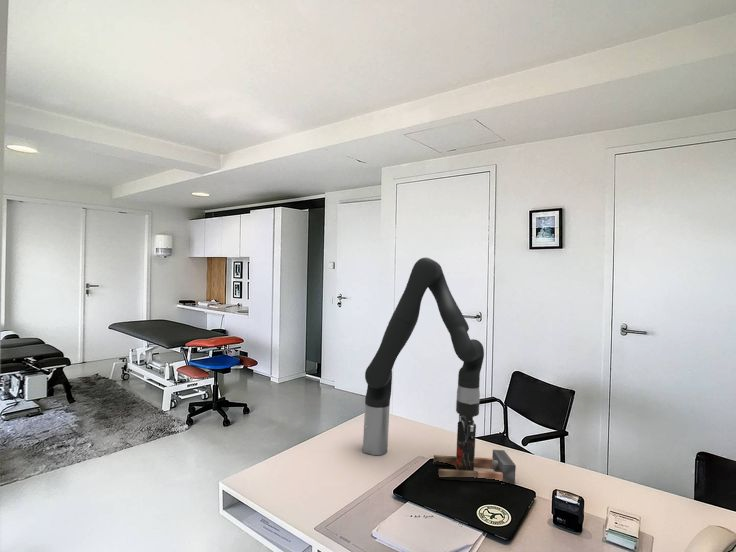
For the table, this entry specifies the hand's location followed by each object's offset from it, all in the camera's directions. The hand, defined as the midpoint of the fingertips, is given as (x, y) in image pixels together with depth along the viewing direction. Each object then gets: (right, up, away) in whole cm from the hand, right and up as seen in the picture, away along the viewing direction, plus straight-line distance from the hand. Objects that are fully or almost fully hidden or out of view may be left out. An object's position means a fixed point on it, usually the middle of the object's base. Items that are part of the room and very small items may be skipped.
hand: (465, 448), depth 133 cm
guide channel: (+2, -8, 0) cm, 8 cm away
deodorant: (0, -7, 0) cm, 7 cm away
